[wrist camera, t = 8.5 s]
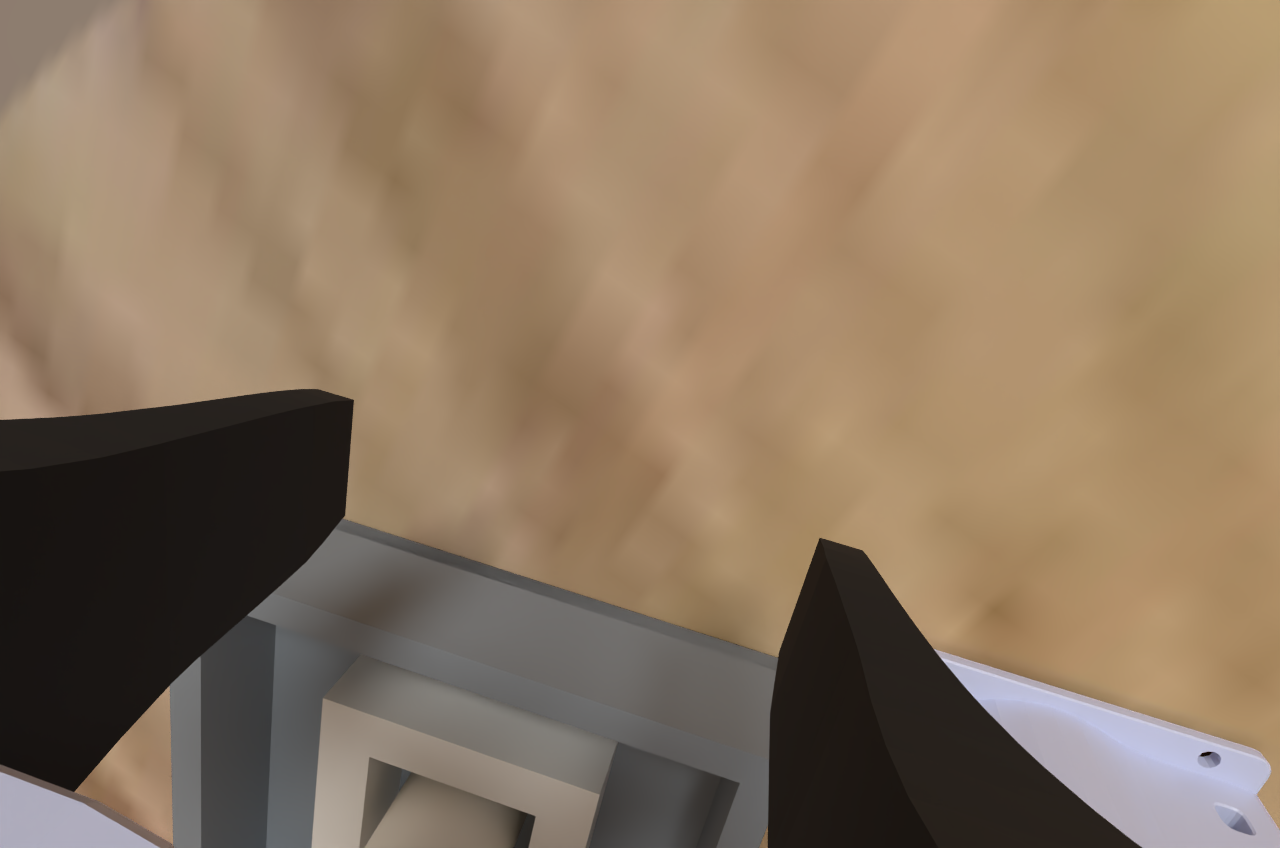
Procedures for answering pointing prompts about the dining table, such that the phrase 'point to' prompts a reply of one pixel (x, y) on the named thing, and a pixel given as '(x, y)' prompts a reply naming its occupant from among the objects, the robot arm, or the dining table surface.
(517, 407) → the dining table surface
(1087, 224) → the dining table surface
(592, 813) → the inlet socket
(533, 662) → the walled box
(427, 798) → the connector peg
